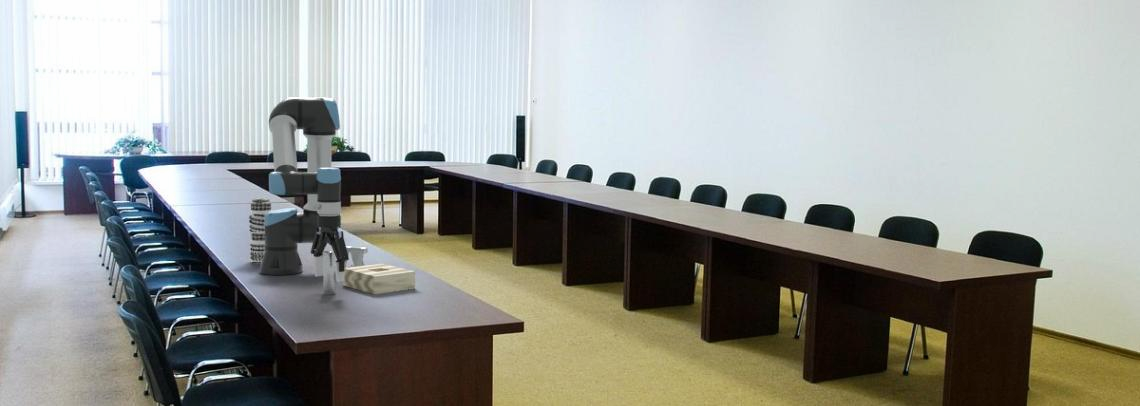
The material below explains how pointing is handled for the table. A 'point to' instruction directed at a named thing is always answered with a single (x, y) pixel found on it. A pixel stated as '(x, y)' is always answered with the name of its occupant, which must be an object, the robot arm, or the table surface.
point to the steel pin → (329, 273)
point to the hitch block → (379, 278)
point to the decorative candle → (258, 227)
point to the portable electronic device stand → (356, 255)
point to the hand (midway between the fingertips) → (329, 278)
